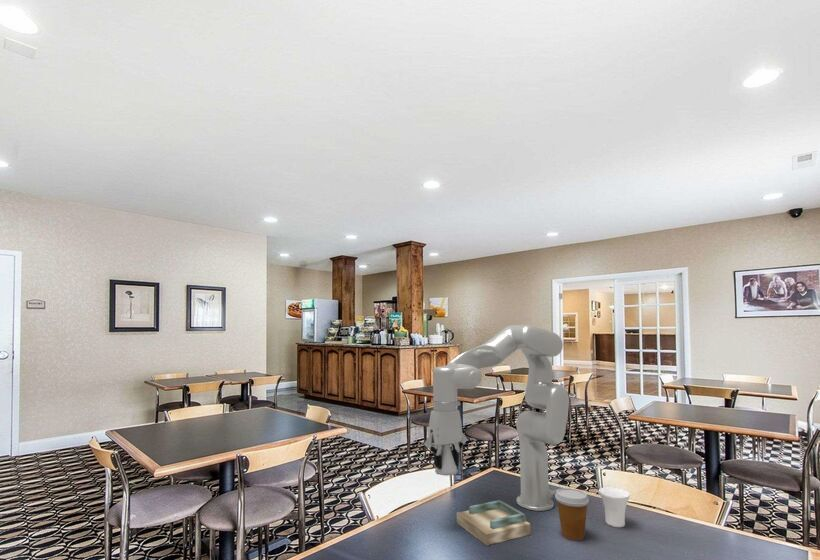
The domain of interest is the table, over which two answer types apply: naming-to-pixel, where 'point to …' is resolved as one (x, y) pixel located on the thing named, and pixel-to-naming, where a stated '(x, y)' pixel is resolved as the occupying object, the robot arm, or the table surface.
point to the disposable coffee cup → (572, 512)
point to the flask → (447, 462)
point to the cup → (614, 505)
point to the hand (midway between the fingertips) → (446, 465)
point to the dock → (494, 522)
